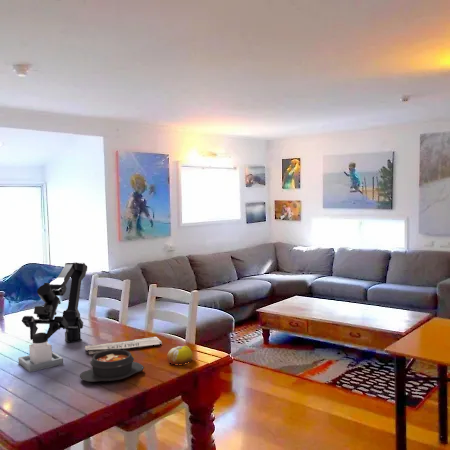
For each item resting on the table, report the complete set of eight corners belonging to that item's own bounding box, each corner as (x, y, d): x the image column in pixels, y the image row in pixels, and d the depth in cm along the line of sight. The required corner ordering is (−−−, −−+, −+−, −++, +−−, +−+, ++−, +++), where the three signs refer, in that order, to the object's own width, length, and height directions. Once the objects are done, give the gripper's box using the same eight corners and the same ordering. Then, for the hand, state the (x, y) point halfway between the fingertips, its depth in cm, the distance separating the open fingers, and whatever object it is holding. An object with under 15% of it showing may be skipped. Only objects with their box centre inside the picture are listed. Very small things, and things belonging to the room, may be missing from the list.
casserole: (88, 391, 172) (87, 369, 172) (74, 375, 188) (73, 355, 187) (151, 376, 186) (150, 355, 185) (133, 362, 201) (132, 343, 201)
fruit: (180, 354, 210) (184, 338, 208) (195, 366, 203) (199, 350, 201) (160, 360, 202) (163, 343, 200) (175, 373, 195) (178, 356, 193)
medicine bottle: (52, 361, 202) (51, 333, 201) (35, 365, 197) (34, 337, 196) (46, 356, 207) (45, 330, 206) (29, 361, 202) (28, 333, 202)
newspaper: (156, 340, 235) (155, 333, 234) (163, 347, 223) (163, 339, 223) (82, 350, 220) (82, 342, 220) (86, 358, 209) (86, 350, 209)
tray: (50, 355, 212) (50, 350, 212) (63, 363, 201) (63, 358, 201) (18, 363, 203) (18, 357, 202) (29, 372, 192) (29, 366, 192)
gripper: (22, 297, 205) (9, 330, 195) (63, 298, 203) (52, 330, 193) (33, 310, 214) (20, 342, 203) (72, 311, 211) (61, 343, 201)
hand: (38, 339), depth 200 cm, fingers open, 6 cm apart
